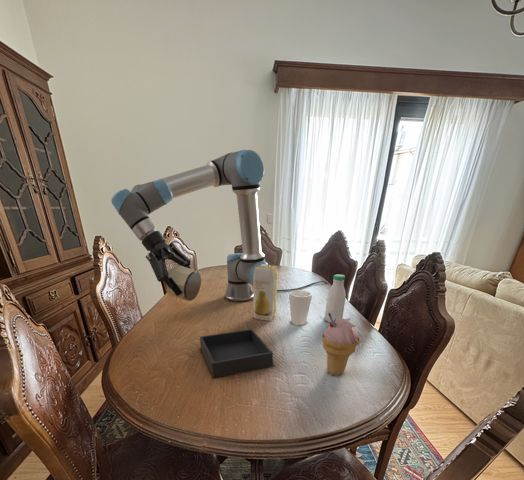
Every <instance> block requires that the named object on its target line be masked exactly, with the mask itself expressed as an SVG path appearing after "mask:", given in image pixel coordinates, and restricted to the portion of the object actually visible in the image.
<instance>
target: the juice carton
mask: <svg viewBox="0 0 524 480" xmlns="http://www.w3.org/2000/svg"><path fill="white" fill-rule="evenodd" d="M252 286H253V288H252V291H253V299H252V301H253V303H252V304H253V317H254V320H255V319H256V320H260V321H261V320H262V321H267V322H271V321H272V320H273V319H274V318H275V317H276V313H277V297H278V291H277V290H278V269H277V266H276V265H269V266H267V264H262V265H259V266H257V267H255V268H254V275H253V285H252Z"/></svg>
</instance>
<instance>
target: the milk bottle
mask: <svg viewBox="0 0 524 480" xmlns="http://www.w3.org/2000/svg"><path fill="white" fill-rule="evenodd" d="M332 278H333V279H332V281H333V282H332V285H331V287H330V288H329V290H328V291H327V292H328V293H327V298H326V304H325V312H324V313H325V314H324V321H326V322H328V323H331V320H330V317H329V315H328V313H330V314H331V316H332V319H333V321H334V320H335V319H344V310H345V305H346V299H347V298H346V297H347V294H346V293H347V292H346V289H345V285H344V282H345V280H346V276H345V275H344V274H339V273H338V274H334V275H333V277H332Z"/></svg>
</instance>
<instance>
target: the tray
mask: <svg viewBox="0 0 524 480" xmlns="http://www.w3.org/2000/svg"><path fill="white" fill-rule="evenodd" d="M199 343H200V351H201V352H202V355H203V358H204V359H205V362H206V364H207V367H208V369H209V372H210V374H211V376H212V378H219V377H224V376H229V375H234V374H238V373H245V372H250V371H255V370H259V369H265V368H270V367H274V366H273V365H274V364H273V363H274V362H273V361H274V358H273V357H274V352H273V351H272V350H271V348H270V347H269V346H268V345H267V344H266V342H264V341H263V339H262V337H260V336H259V335H258V334H257V333H256V331H255V330H254V329H253V328H249V329H242V330H236V331H230V332H223V333H215V334H209V335H202V336H199Z"/></svg>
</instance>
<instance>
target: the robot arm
mask: <svg viewBox="0 0 524 480" xmlns="http://www.w3.org/2000/svg"><path fill="white" fill-rule="evenodd" d="M264 176H265V164H264V161H263V159H262V157H261V156H260V155H259V153H258V152H256V151H255V150H252V149H242V150H241V149H240V150H237V151H234V152H233V151H232V152H228V153H226V154H224V155H221V156H219V157H217V158H215V159H213V160H209V161H207V162H206V164H205V165H203V166H199V167H195V168H193V169H189V170H186V171H182V172H179V173H176V174H172V175H169V176H165V177H162V178H159V179H156V180H152V181H149V182H145V183H141V184H136V185H134V186H132V188H131V190H130V189H127V188H124V189H120V190H118V191H117V192H115V193H113V195H112V197H111V201H110V202H111V204H112V206H113V207H114V209H115V210H116V212H117V213H118V215H119V216H120V217H121V218H122V220H123V221H124V222H125V224H126V225H127V226H128V227H129V228H130V230H131V231H132V233H133V234H134V235H135V237H136V238H137V239H138V240H139V241H141V245H142V246H143V248H144V249H145V250H146V251H148V253H147V254H146V255H145V259H147V261H148V262H149V264H150V267H151V269H152V271H153V273H154V276H155V278H156V280H157V282H159V283H160V282H161V283H165V285H166V284H167V285H168V287H169V288H170V289H172V290H173V292H174V293H175V294H176V296H178V295H180V294H181V293H182V291H181V290H180V288H179V287H178V286H177V284H176V283H175V282H174V280H173V279H172V278H171V277H170V278H169V276H168V275H169V272H168V268H167V264H166V260H169V261H170V260H171V261H172V262H174V263H175V264H177V265H180V266H184V267H187V268H190V269H192V267H191V266H190V265H191V263H192V261H191V259H189V258H188V257H187V256H186V254H184V253H183V252H182V251H181V250H179V249H178V248H177V247H176V245H175V244H174V243H173V242H170V243H169V244H167V243H166V241H165V237H164V236H163V234H162V233H161V232H160V230H158V227H157V225H156V224H155V223H154V222H153V221H152V219H151V218H150V216H149V215H150V214H151V213H153V212H155V211H157V210H159V209H161V208H162V207H164V206H166V205H167V204H169V203H170V202H172V201H173V199H174V198H178V197H181V196H185V195H187V194H190V193H194V192H197V191H199V190H203V189H205V188H209V187H214V188H219V187H221V186H231V189H232V192H233V193H234V194H235V195H236V202H237V211H238V222H239V230H240V237H241V239H240V240H241V247H242V252H236V253H229V254H228V255H227V256H226V269H227V286H226V290H225V294H224V296H225V299H226V300H227V301H229V302H235V303H236V302H237V303H243V302H248V301H251V300H253V288H252V286H253V275H254V268H255V267H257V266H259V265H262V264H267V266H270V264H269V263H268V262H266V254H265V253H264V252H263V251H262V243H261V241H262V240H261V231H260V229H261V228H260V217H259V215H260V214H259V205H258V204H259V203H258V192H259V191H260V189H261V181H262V180H263V178H264ZM319 283H324V284H328V283H327V282H326V281H324V280H320V281H316V282H315V281H314V282H311V283H309V284H307V285H303V286H301V287H296V288H289V289H277V292H291V291H295V290H302V289H304V288H307V287H309V286H312V285H315V284H319Z"/></svg>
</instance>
